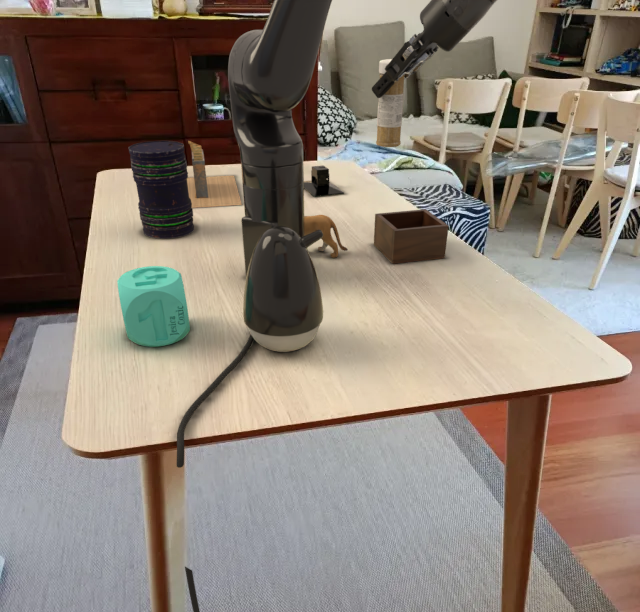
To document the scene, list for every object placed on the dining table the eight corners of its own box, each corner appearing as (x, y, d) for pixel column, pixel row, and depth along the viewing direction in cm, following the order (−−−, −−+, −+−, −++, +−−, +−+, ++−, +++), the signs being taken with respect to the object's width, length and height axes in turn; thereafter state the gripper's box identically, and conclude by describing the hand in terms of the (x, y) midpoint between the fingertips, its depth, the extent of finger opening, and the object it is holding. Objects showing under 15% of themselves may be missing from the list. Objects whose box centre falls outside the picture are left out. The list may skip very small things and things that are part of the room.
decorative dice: (130, 351, 78) (117, 293, 74) (127, 324, 85) (116, 269, 80) (192, 342, 80) (184, 285, 76) (185, 316, 86) (177, 262, 82)
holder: (444, 258, 104) (448, 225, 101) (392, 264, 102) (394, 230, 99) (422, 239, 112) (425, 209, 109) (373, 244, 110) (375, 213, 107)
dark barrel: (158, 242, 111) (144, 155, 102) (133, 229, 117) (117, 146, 108) (205, 230, 116) (195, 146, 108) (178, 218, 122) (167, 138, 114)
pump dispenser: (334, 354, 77) (335, 236, 68) (254, 367, 75) (244, 246, 66) (312, 320, 85) (311, 210, 76) (239, 330, 83) (229, 218, 74)
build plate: (344, 194, 136) (344, 173, 134) (313, 198, 134) (313, 176, 132) (325, 180, 146) (325, 159, 143) (296, 183, 144) (295, 162, 141)
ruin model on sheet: (166, 178, 148) (159, 135, 142) (233, 175, 150) (230, 132, 144) (163, 209, 128) (156, 159, 122) (241, 204, 130) (238, 156, 124)
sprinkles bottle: (388, 141, 114) (392, 58, 106) (405, 145, 111) (411, 59, 103) (370, 145, 111) (373, 59, 103) (388, 149, 109) (392, 61, 101)
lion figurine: (263, 259, 104) (260, 206, 99) (264, 248, 108) (261, 197, 103) (348, 258, 105) (350, 204, 99) (346, 247, 109) (347, 195, 104)
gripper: (453, -12, 100) (380, 69, 111) (429, -12, 90) (351, 78, 101) (480, 27, 102) (406, 103, 113) (460, 32, 91) (380, 116, 102)
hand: (380, 91), depth 107 cm, fingers closed on sprinkles bottle, 4 cm apart
